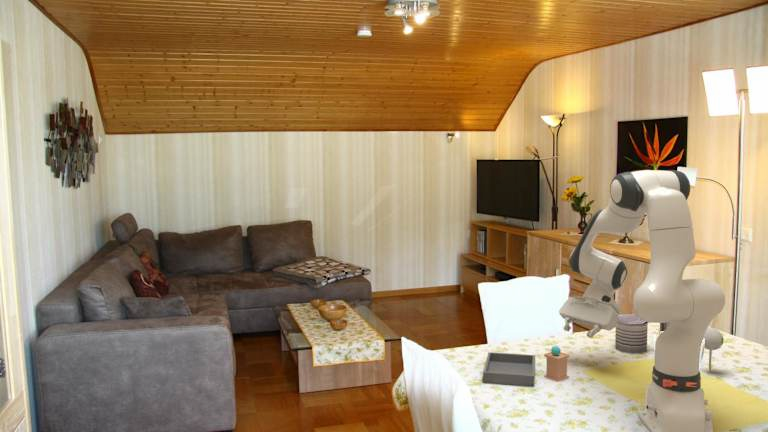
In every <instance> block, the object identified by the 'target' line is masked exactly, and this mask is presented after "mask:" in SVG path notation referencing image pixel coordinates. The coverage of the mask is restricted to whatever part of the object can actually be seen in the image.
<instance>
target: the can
mask: <svg viewBox="0 0 768 432" xmlns="http://www.w3.org/2000/svg"><path fill="white" fill-rule="evenodd" d="M648 325H649V323H648V321H644V320H642V319H641V318H640V317H639V316H638V315H637V313H629V314H620V315H618V320H617V322H616V325H615V343H614V345H615V347H614V348H615V350H616V351H617V352H620V353H622V354H628V355H629V354H630V355H642V354H646V353H647V352H648V329H649V327H648Z"/></svg>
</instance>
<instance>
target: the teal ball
mask: <svg viewBox="0 0 768 432" xmlns="http://www.w3.org/2000/svg"><path fill="white" fill-rule="evenodd" d="M550 352H552V354H553V355H559V354H560V352H562V351H561V348H560V347H559V345H554V346H552V347H551V349H550Z"/></svg>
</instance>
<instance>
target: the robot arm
mask: <svg viewBox="0 0 768 432" xmlns="http://www.w3.org/2000/svg"><path fill="white" fill-rule="evenodd" d="M690 193H691V183H690V180H689V178H688V176H687V175H686V173H684V172H682V171H679V170H675V169H668V170H664V169H663V170H660V169H658V170H657V169H655V170H652V169H642V170H636V171H635V170H634V171H624V172H621V173H618V174H616V175H614V176H613V178H612V179H611V183H610V187H609V194H610V198H609V200H608V204H607V206H606V207H605V208H604V209H598V210H597V211H596V212H595V213H594V215H593V216H592V217H591V219H590V221H588V224H587V225H586V227H585V230H584V231H583V233H582V235H581V237H580V239H579V241H578V243H577V245H576V247H575V248H574V249H573V251H571V254H570V255H569V260H568V264H569V266H570V268H571V271H573V273H577V274H579V275H583V276H585V277H587V278H590V279H592V281H591V283H589V285H588V286H587V288H586V289H585V291H584V293H583V295H582V296H579V295H576V294H575V295H571V296H569V297H568V298H567V300H566V301H565V302H564V303H563V304H562V306H561V307H560V309H559V315H560V316H561V317H562V319H564V325H563V327H562V328H563V330H564V331H566V332H570V330H571V329H572V328H571V326H570V324H572V322H574V323H579V324H583V325H585V326H586V325H587V326H590V327H593V328H592V329H591V330H588V331H587V333H586V336H587V338H590V339H593V338H594V336H595V335H596V334H598V333H599V332H600V331H601V330H606V331H611V330H613V329H614V328H615V327H616V322H617V320H618V316H619V314H620V313H621V312H622V309H621V307H620V305H619V304H618V302H617V301H616V299H614V294H615V293H616V292H617V291H618V289H619V288H621V287H622V285H623V283H624V282H625V280H626V278H627V275H628V268H627V266H626V263H625V262H624V261H623V260H622V259H620V258H618V257H615V256H614V255H610V254H608V253H605V252H603V251H601V250H598V249H596V248H594V246H593V244H594V241H595V240H596V238H597V236H598V234H602V233H603V234H604V233H607V234H608V233H609V234H610V233H611V234H617V235H618V234H621V235H622V234H628V233H631V232H633V231H636V229H638V228H639V227H640V225H641V223H642V221H643V219H644V217H645V214H646V215H647V227H648V237H649V246H650V247H649V248H650V250H649V251H650V261H649V268H648V272H647V274H646V277H645V278H644V280H643V281H642V283H641V284H640V285H639V286H638V287H637V288H636V290H635V292H634V294H633V298H632V305H633V308H634V311H635V314H637V315H638V316H639V317H640V318H641V319H642V320H644V321H647V322H649V323H650V322H651V323H657V324H660V323H668V322H670V324H669V326H668V327H667V329H666V330H665V331H664V332H663V333H661V334H660V333H659V334H658V335H659V336H657V338H656V340H655V344H654V347H655V348H654V365H653V367H652V371H651V375H652V377H651V380H652V381H651V383H650V384H649V385H647V386H646V387H645V398H644V399H645V400H644V409H642V410H639V411H638V412H637V416H638V417H639V419H640V420H641V422H643V424H644V425H645V426H646V428H647V429H648V430H649V432H714V428H713V427H714V425H713V418H712V411H713V410H712V409H708V408H707V409H706V408H705V406H708V404H709V400H708V399H705V390H704V389H702V385H701V383H702V377H701V371H700V357H701V356H700V355H701V347H702V345H701V343H702V340H703V337H704V334H705V332H706V330H707V328H709V326H710V325H711V323H712V322H713V320H714V319H715V318H716V316H718V315H719V314H720V313H721V312H722V311H723V310H724V308H725V305H726V296H725V291H724V290H723V289H722V287H721V285H720V284H719V283H717V282H716V281H714V280H709V279H704V278H688V279H684V278H683V277H684V272H685V269H686V267H687V266H688V265H689V264H690V263H692V262H693V261H694V259H695V257H696V244H695V238H694V237H695V235H694V228H693V220H692V216H691V211H690V207H689V205H688V198H689V196H690Z"/></svg>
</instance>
